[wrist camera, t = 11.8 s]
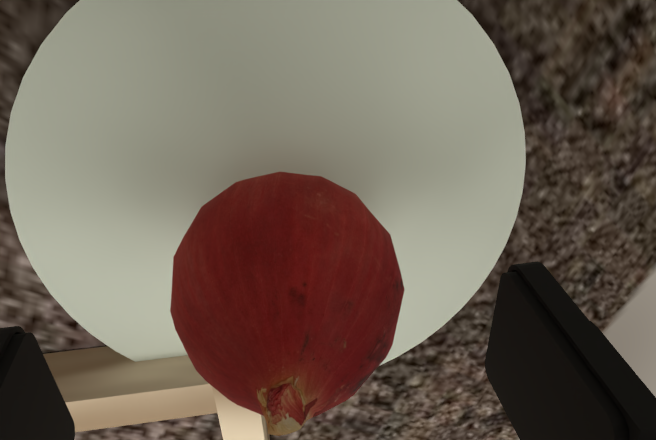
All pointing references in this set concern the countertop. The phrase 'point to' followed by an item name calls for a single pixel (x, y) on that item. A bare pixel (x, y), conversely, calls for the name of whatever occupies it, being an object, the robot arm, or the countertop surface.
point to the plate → (258, 144)
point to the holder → (143, 392)
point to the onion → (286, 295)
